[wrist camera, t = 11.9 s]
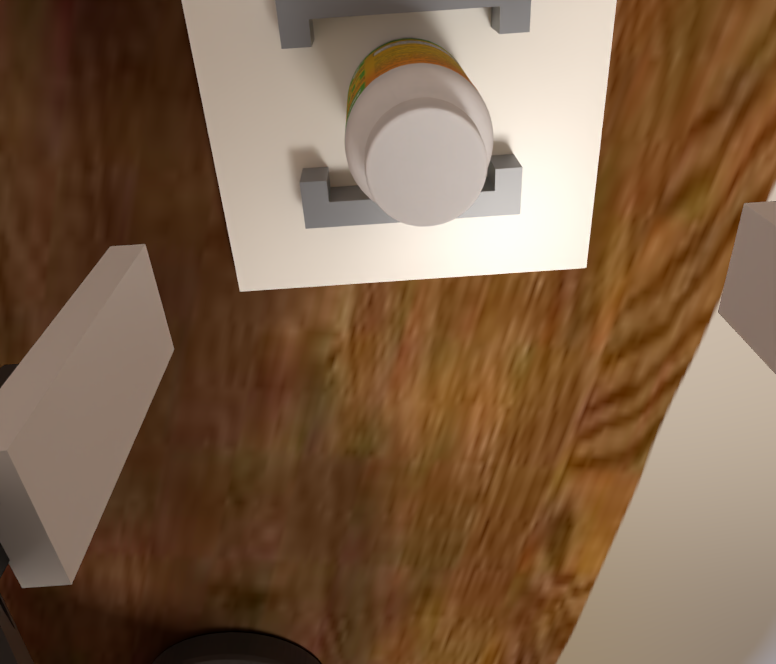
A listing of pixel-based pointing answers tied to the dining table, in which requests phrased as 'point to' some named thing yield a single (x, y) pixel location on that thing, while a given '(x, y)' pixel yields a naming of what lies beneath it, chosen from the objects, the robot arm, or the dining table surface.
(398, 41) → the supplement bottle
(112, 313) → the robot arm
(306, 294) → the dining table surface
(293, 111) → the bottle holder
